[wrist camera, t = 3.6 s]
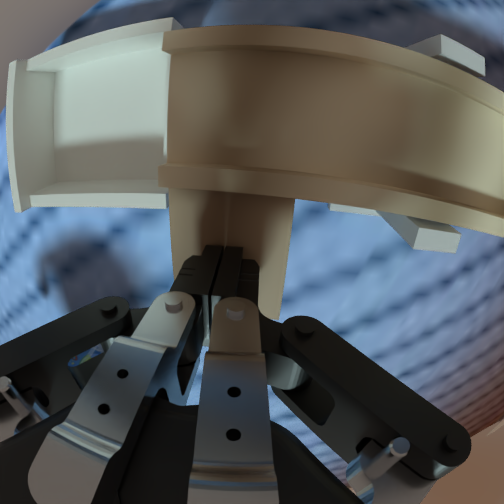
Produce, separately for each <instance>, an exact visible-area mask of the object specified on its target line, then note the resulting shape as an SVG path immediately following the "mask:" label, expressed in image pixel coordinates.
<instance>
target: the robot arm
mask: <svg viewBox="0 0 504 504" xmlns="http://www.w3.org/2000/svg"><path fill="white" fill-rule="evenodd" d="M259 271H260V266H259V265H258V263H257V262H256V261H255V260H252V259H243V247H234V246H226V247H225V250H224V246H219V245H205V248H204V250H203V252H202V255H201V256H199V255H192V256H191V257H189V258H188V259H186V260H185V261H184V263H183V265H182V267H181V269H180V271H179V273H178V275H177V277H176V279H175V281H174V283H173V285H172V287H171V289H170V291H169V292H167V293H164V294H161V295H160V296H158V297H157V298H156V299H155V300H154V301H153V303H152V305H151V306H150V307H149V308H141V309H130V307H129V304H128V302H127V301H126V300H125V299H123V298H121V297H115V296H112V297H106V298H103V299H100V300H98V301H96V302H93V303H91V304H89V305H87V306H85V307H82V308H80V309H78V310H76V311H73V312H71V313H69V314H67V315H65V316H63V317H60V318H58V319H56V320H54V321H52V322H49V323H47V324H45V325H43V326H41V327H39V328H36V329H34V330H32V331H30V332H28V333H26V334H24V335H22V336H19V337H17V338H15V339H13V340H11V341H9V342H7V343H5V344H2V345H0V504H420V503H421V501H422V500H423V499H424V498H425V496H426V495H427V493H428V492H429V491H430V489H431V488H432V487H433V485H434V484H435V482H436V481H437V480H438V479H440V478H441V477H443V476H445V475H446V474H448V473H449V472H450V471H452V470H453V469H455V468H456V467H458V466H459V465H461V464H462V463H463V462H464V461H465V460H466V459H467V458H468V456H469V454H470V451H471V439H470V436H469V433H468V432H467V430H466V429H465V428H464V427H463V426H462V425H460V424H459V423H457V422H456V421H455V420H453V419H452V418H450V417H449V416H448V415H446V414H445V413H443V412H442V411H441V410H439V409H438V408H436V407H435V406H434V405H432V404H431V403H429V402H428V401H427V400H425V399H424V398H423V397H421V396H420V395H418V394H417V393H416V392H414V391H413V390H412V389H410V388H409V387H407V386H406V385H405V384H403V383H402V382H401V381H399V380H398V379H397V378H395V377H394V376H392V375H391V374H390V373H388V372H387V371H386V370H384V369H383V368H382V367H380V366H379V365H378V364H376V363H375V362H373V361H372V360H371V359H369V358H368V357H367V356H365V355H364V354H363V353H361V352H360V351H359V350H357V349H356V348H355V347H353V346H352V345H351V344H349V343H348V342H347V341H345V340H344V339H343V338H341V337H340V336H339V335H337V334H336V333H335V332H333V331H332V330H331V329H329V328H328V327H327V326H325V325H324V324H323V323H321V322H320V321H319V320H317V319H315V318H312V317H308V316H294V317H291V318H288V319H287V320H285V321H284V323H279V322H276V321H273V320H271V319H269V318H267V317H265V316H264V315H263V314H262V313H261V312H260V310H259V308H258V295H259ZM98 344H101V346H102V349H103V351H104V352H102V353H101V354H99V355H97V356H95V357H93V358H91V359H89V360H87V361H85V362H83V363H81V364H79V365H77V366H74V367H71V366H68V363H69V361H70V359H72V358H73V357H75V356H77V355H79V354H81V353H83V352H85V351H87V350H89V349H91V348H93V347H95V346H96V345H98ZM202 346H208V347H209V350H208V351H206V353H205V358H204V366H203V374H202V383H201V391H200V400H199V405H189V406H186V403H187V399H188V396H189V393H190V390H191V387H192V384H193V381H194V378H195V375H196V372H197V369H198V366H199V363H200V353H201V349H202ZM267 384H268V385H271V388H272V390H273V392H274V393H275V395H276V396H277V397H278V398H279V399H280V400H281V401H282V402H283V403H284V404H285V405H286V406H287V407H288V408H289V409H290V410H291V411H292V412H293V413H294V414H295V415H296V416H297V417H298V418H299V419H300V420H301V421H302V422H303V423H304V424H305V425H306V426H308V427H309V428H310V429H311V430H312V431H313V432H314V433H315V434H316V435H317V436H318V437H319V438H320V439H321V440H322V441H323V442H325V443H326V444H327V445H328V446H329V447H330V448H331V449H332V450H333V451H334V452H336V453H337V454H338V455H339V456H340V457H341V458H342V459H343V460H345V461H346V462H347V463H348V467H347V470H346V478H347V481H348V483H349V485H350V486H351V487H352V488H353V489H354V491H355V492H356V495H357V496H356V495H355V494H354V493H353V492H352V491H351V490H350V489H348V488H347V487H346V486H345V485H344V484H343V483H342V482H341V481H340V480H339V479H338V478H337V477H336V476H335V475H334V474H333V473H331V472H330V471H329V470H328V469H327V468H326V467H325V466H324V465H323V464H322V463H321V462H320V461H319V460H318V459H317V458H316V457H315V456H314V455H313V454H312V453H311V452H310V450H309V449H308V448H307V447H306V446H305V445H304V444H303V443H302V442H301V441H300V440H299V439H298V438H297V437H296V436H295V435H294V434H292V433H291V432H290V431H289V430H287V429H286V428H284V427H283V426H281V425H279V424H277V423H275V422H273V421H270V414H269V401H268V389H267Z"/></svg>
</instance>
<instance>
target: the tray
mask: <svg viewBox="0 0 504 504" xmlns="http://www.w3.org/2000/svg"><path fill="white" fill-rule="evenodd" d="M179 29H185V28H184V27H183V26H182V25H181V24H180V23H178V22H177V21H176V20H175V19H174V18H173V17H170V18H163V19H157V20H151V21H145V22H140V23H135V24H130V25H126V26H122V27H117V28H114V29H110V30H106V31H102V32H99V33H95V34H92V35H89V36H86V37H83V38H80V39H77V40H74V41H71V42H68V43H66V44H63V45H60V46H58V47H55V48H53V49H51V50H48V51H46V52H44V53H41V54H39V55H37V56H35V57H33V58H30V59H28V60H15V61H14V62H12V63H10V64H9V74H8V84H7V101H6V139H7V156H8V167H9V176H10V184H11V191H12V198H13V204H14V209H15V212H23V211H25V210H27V209H29V208H30V207H121V208H153V209H167V208H168V207H169V191H168V188H165V187H158V166H160V165H162V164H165V163H167V112H168V89H169V73H170V60H171V54H168V53H166V52H164V51H162V43H163V34H164V32H166V31H172V30H179Z"/></svg>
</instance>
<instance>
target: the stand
mask: <svg viewBox="0 0 504 504" xmlns="http://www.w3.org/2000/svg"><path fill="white" fill-rule="evenodd" d="M405 48H406V49H409V50H412V51H415V52H418V53H421V54H423V55H426V56H429V57H432V58H434V59H437V60H439V61H442V62H444V63H447V64H449V65H451V66H454V67H456V68H458V69H460V70H462V71H465V72H467V73H469V74H471V75H473V76H475V77H484V76H485V58H484V57H483V56H481V55H479V54H478V53H476V52H474V51H473V50H471V49H469V48H467V47H466V46H464V45H462V44H460V43H458V42H456V41H454V40H452V39H450V38H448V37H446V36H444V35H442V34H439V35H436V36H433V37H430V38H428V39H425V40H422V41H420V42H417V43H415V44H412V45H410V46H407V47H405ZM328 209H329V210H331V211H340V212H349V213H357V214H365V215H373V216H381V217H382V218H383V219H384V220H385V221H386V222H387V223H388V224H389V225H390V226H391V227H392V228H393V229H394V230H395V231H396V232H397V233H398V234H399V235H400V236H401V237H402V238H403V239H404V240H405V241H406V242H407V243H408V244H409V245H410V246H411V247H412V248H413V249H419V250H428V251H437V252H446V253H456V250H457V247H458V244H459V241H460V238H461V233H459V232H458V231H457V230H455V229H454V228H453V227H451V226H450V225H449V224H445V223H441V222H436V221H431V220H426V219H421V218H416V217H411V216H406V215H400V214H395V213H389V212H383V211H377V210H371V209H365V208H359V207H353V206H346V205H339V204H332V203H328Z"/></svg>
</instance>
